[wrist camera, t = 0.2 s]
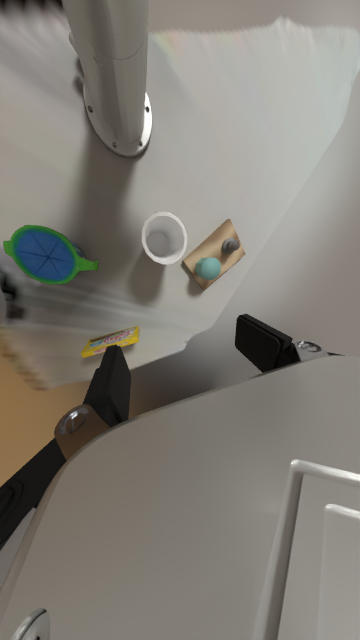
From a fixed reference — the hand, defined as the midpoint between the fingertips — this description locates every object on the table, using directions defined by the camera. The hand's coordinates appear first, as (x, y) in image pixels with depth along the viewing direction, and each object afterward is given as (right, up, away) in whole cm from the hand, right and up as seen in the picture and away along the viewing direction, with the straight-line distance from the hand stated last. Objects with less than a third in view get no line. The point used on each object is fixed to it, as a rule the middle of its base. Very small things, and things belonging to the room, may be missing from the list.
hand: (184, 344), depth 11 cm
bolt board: (+11, +23, +35) cm, 43 cm away
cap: (+7, +19, +34) cm, 39 cm away
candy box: (-23, -3, +37) cm, 43 cm away
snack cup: (-29, +18, +25) cm, 43 cm away
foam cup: (-7, +24, +29) cm, 38 cm away
